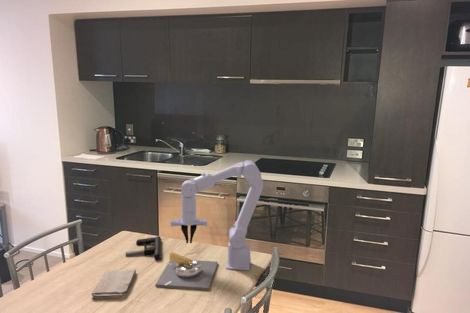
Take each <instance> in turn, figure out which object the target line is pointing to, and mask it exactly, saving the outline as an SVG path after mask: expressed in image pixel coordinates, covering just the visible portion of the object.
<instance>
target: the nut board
mask: <svg viewBox="0 0 470 313" xmlns="http://www.w3.org/2000/svg"><path fill="white" fill-rule="evenodd" d="M198 261H199V263H200V264H201V273H200V274H199V275H198V276H196V277H193V278H181V277H179V276H177V275H176V271H175V265H176V263H175V262H172V261H170V260H169V261H168V262H167V263H166V266H165V267H164V269H163V270H162V273H161V274H160V276H159V278H158V279H157V281H156V283H155V288H170V289H181V290H182V289H184V290H185V289H186V290H197V291H210V289H211V286H212V282H213V279H214V276H215V273H216V270H217V267H218V261H215V260H214V261H212V260H211V261H209V260H200V259H199V260H198Z"/></svg>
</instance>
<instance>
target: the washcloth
mask: <svg viewBox="0 0 470 313" xmlns="http://www.w3.org/2000/svg"><path fill="white" fill-rule="evenodd" d="M103 273H104V274H103V275H102V277H101V278H100V279H99V281H98V283H97V284H96V286H95V287H94V289H93V290H92V292H91V296H92V297H91V300H93V299H97V300H121V299H124V298H125V297H126V296H127V294H128V292H129V290H130V288H131V285H132V283H133V281H134V279H135V277H136V274H137V269H136V268H135V269H133V268H132V269H130V268H129V269H124V270H123V269H121V270H120V269H108V270H106V271H105V272H103Z"/></svg>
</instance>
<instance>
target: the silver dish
mask: <svg viewBox="0 0 470 313" xmlns="http://www.w3.org/2000/svg"><path fill="white" fill-rule="evenodd" d="M169 261H172V262H175V263H176V265H175V271H176V275H177V276H179V277H181V278H193V277H196V276H198V275H199V274H200V273H201V264H200V263H199V261H200V260H199V261H198V260H197V259H192V258H189V257H185V256H183V255H180V254H178V253H175V252H170V253H169Z"/></svg>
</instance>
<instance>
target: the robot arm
mask: <svg viewBox="0 0 470 313" xmlns="http://www.w3.org/2000/svg"><path fill="white" fill-rule="evenodd" d="M242 176H243V178H244V179H245V180H246V181H247V182H248V183H249V186H250V187H249V189H248V192H247V195H246V197H245V199H244V201H243V204H242V207H241V208H240V211H239V214H238V217H237V220H236V221H234V223H233V225H232V227H230V228H229V231H228V236H229V242H228V243H227V262H226V265H225V266H226V267H225V269H226V270H240V271H250V267H251V266H250V265H251V260H252V259H251V245H250V244H249V245H248V244H246V235H247V232H248V226H249V224H250V221H251V219H252V216H253V214H254V211H255V210H256V209H255V208H256V206H257V205H258V202H259V199H260V197H261V195H262V191H264V190H263V189H264V183H263V178H262V173H261V171H260V169H259V168H258V166H257V164H256V163H255V162H254V160H250V159H246V160H244V161H240V162H237V163H234V164H232V165H231V166H228V167H226V168H224V169H222V170H220V171H217V172H215V173H212V174H211V173H209V172H207V173H205V172H203V173H201V175H200V176H196V177H194V178H193V177H192V178H190V179H188V180H187V179H186V180H185V181H184V182H182V184H181V187H180V193H181V218H180V219H171V220H170V227H177V226H178V227H179V226H180V230H181V232H182V233H183V236H184V239H185V242H186V244H189V243H190V244H192V243H193V238H194V235H195V233H196V231H197V227H198V226H204V227H208V220H207V219H203V218H202V219H201V218H197V198H196V194H197V193H200V192H202V191H203V192H204V191H205V190H208V189H210V188H213V187H214V186H215V184H216V183H217V182H220V181H222V180H226V179H228V178H231V177H236V178H237V177H238V178H240V179H242ZM189 226H190V227H189ZM189 229H190V230H189ZM189 231H190V232H189ZM189 234H190V238H189ZM189 239H190V240H189Z"/></svg>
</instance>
